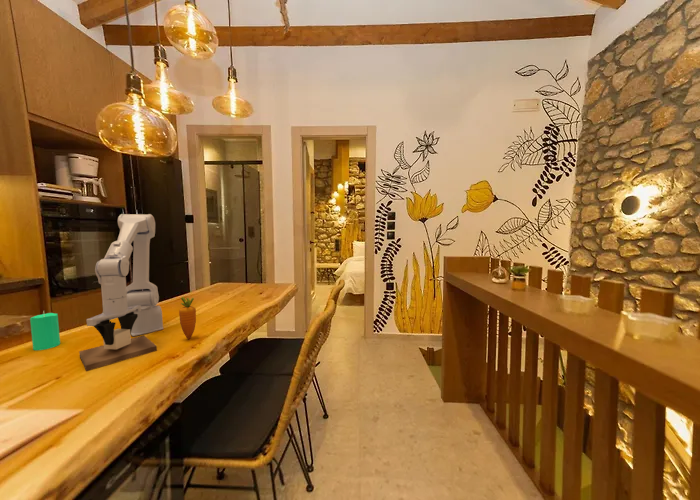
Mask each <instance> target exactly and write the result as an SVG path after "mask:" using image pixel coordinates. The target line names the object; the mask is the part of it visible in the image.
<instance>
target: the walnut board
mask: <svg viewBox="0 0 700 500" xmlns="http://www.w3.org/2000/svg"><path fill="white" fill-rule="evenodd" d="M156 351H158V347H157V345H156V343H154V342H153V341H152V340H150V339H149V338H148V337H147V336H145V334H142V335H141V336H140V335H138V336H134V337H132V338H131V344H128V345H126V346H123V347H121V348H119V349H104V344H103V345H100V346H96V347H92V348H88V349H84V350H80V351H78V353H79V358H80V360H81V363H82V364H83V366H84V369H85V371H86V372H89V371H91V370H95V369H97V368H102V367H105V366H108V365H112V364H115V363H119V362H121V361H125V360H129V359H133V358H136V357H139V356H143V355H146V354H149V353H153V352H156Z"/></svg>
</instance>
